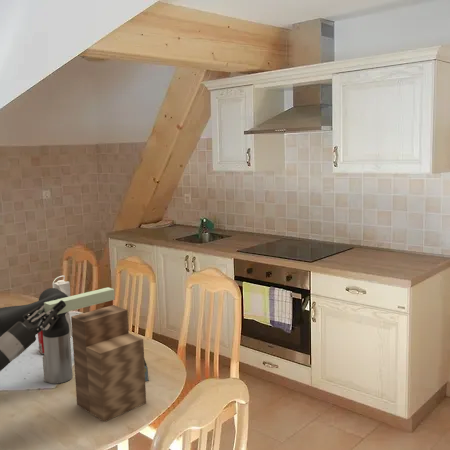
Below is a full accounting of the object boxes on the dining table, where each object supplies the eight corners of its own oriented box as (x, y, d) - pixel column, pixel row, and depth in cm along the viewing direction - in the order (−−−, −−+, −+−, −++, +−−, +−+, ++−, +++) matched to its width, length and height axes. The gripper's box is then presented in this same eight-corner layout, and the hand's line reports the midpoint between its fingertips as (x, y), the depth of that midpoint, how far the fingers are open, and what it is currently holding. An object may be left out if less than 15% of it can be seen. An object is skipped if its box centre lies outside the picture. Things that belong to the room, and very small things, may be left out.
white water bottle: (58, 335, 235) (53, 275, 231) (76, 335, 235) (72, 274, 231) (51, 343, 227) (46, 280, 223) (70, 342, 227) (65, 279, 222)
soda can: (47, 356, 211) (45, 326, 209) (35, 353, 215) (33, 323, 213) (61, 350, 217) (59, 320, 215) (49, 347, 221) (47, 318, 219)
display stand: (104, 421, 161) (98, 328, 156) (77, 404, 172) (71, 316, 167) (146, 402, 172) (142, 314, 167) (118, 387, 183) (113, 304, 178)
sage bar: (50, 316, 156) (49, 304, 155) (44, 313, 158) (43, 302, 158) (114, 299, 171) (114, 289, 171) (108, 297, 174) (108, 287, 173)
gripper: (18, 338, 144) (66, 296, 153) (-3, 326, 153) (43, 287, 163) (33, 357, 147) (79, 314, 156) (11, 344, 157) (55, 305, 166)
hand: (60, 301), depth 159 cm, fingers closed on sage bar, 3 cm apart
